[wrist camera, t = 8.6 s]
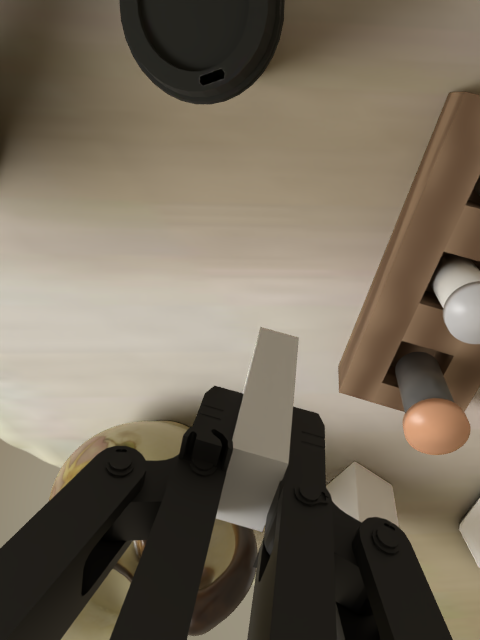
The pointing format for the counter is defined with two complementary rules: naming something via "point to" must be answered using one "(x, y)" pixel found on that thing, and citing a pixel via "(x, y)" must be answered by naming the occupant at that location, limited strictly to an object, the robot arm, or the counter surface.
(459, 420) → the pot knob
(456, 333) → the knob mid
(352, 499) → the milk
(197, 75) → the coffee cup
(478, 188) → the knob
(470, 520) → the plate
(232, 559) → the pitcher
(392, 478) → the counter surface
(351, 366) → the mount
